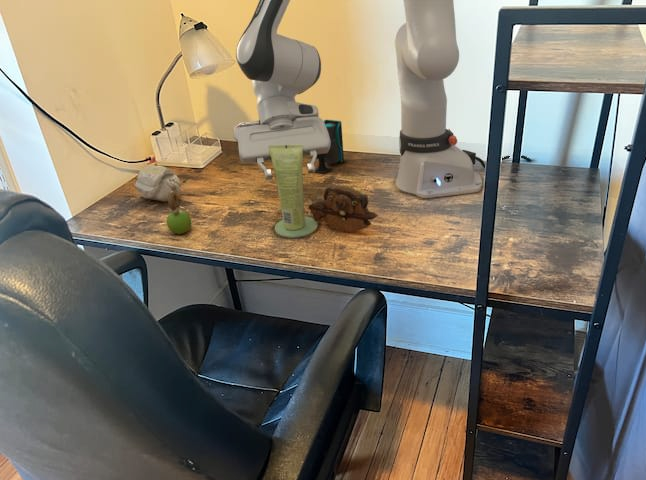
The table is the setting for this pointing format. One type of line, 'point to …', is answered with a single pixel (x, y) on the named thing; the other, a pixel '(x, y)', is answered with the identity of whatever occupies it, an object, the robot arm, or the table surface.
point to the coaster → (306, 230)
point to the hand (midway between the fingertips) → (290, 175)
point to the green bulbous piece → (177, 213)
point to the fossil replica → (156, 182)
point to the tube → (289, 183)
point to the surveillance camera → (332, 146)
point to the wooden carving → (343, 209)
